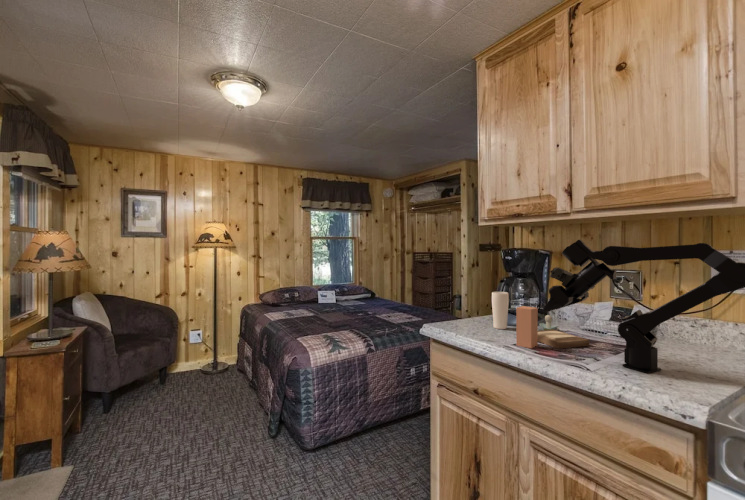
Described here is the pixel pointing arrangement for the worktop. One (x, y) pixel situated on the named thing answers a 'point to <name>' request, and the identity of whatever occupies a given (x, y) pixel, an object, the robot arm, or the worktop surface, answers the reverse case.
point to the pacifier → (548, 324)
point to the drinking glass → (500, 309)
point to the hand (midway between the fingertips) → (549, 309)
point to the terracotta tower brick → (527, 326)
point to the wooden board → (561, 339)
